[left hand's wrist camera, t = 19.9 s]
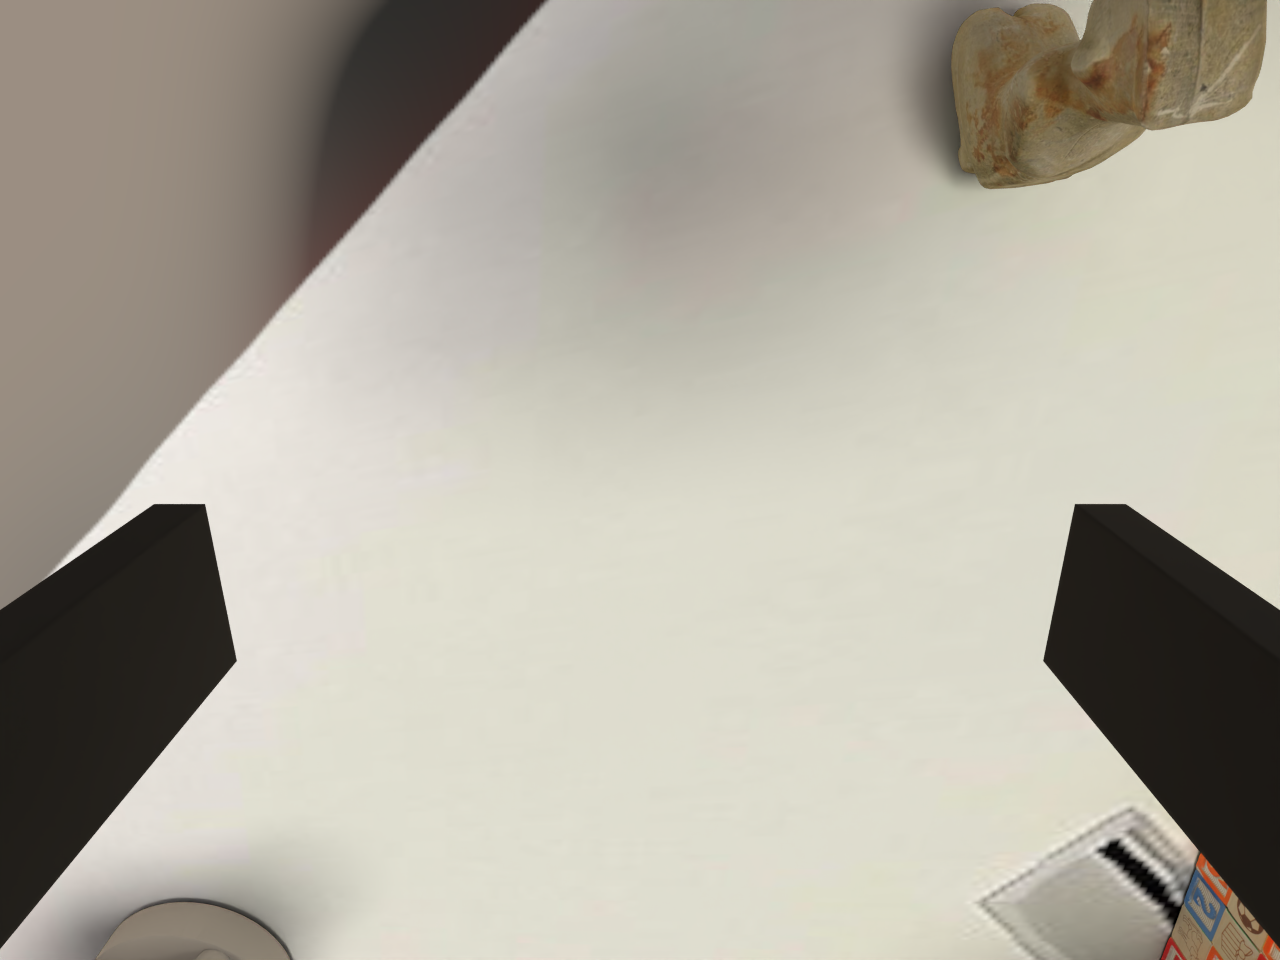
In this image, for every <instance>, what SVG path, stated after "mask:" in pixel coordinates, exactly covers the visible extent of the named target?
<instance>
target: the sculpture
mask: <svg viewBox="0 0 1280 960" xmlns="http://www.w3.org/2000/svg"><path fill="white" fill-rule="evenodd" d="M1266 16H1267V0H1094V1H1093V2H1092V4H1091V7H1090V10H1089V14H1088V19H1087V24H1086V30H1085V33H1084V35H1083V38H1082V40H1079V37H1078V34H1077V32H1076V29H1075V27H1074V24H1073V22H1072V20H1071V18H1070V16H1069V14H1068V13H1067V12H1066V11H1065V10H1063V9H1061V8H1059V7H1057V6H1055V5H1051V4H1030V5H1028V6H1025V7H1023V8H1021V9H1019V10H1017V11H1016V12H1015V14H1014V16H1010V15H1008V14H1006V13H1005V12H1004V11H1002V10H1001V9H1000V8H990V9H984V10H979V11H977V12H975V13H974V14H972V15H971V16H970V17H968V18H967V19H966V20H965V21H964V22H963V24H962V25H961V27H960V28H959V30H958V33H957V35H956V37H955V41H954V44H953V49H952V59H951V71H952V82H953V90H954V98H955V106H956V112H957V117H958V123H959V130H960V139H961V146H960V148H959V151H958V157H959V162H960V165H961V168H962V169H963V170H964V171H965V172H968V173H973V174H974V173H975V174H976V176H977V179H978V181H979V182H980V184H981V185H982V186H983V187H984V188H988V189H1000V188H1016V187H1024V186H1031V185H1038V184H1045V183H1050V182H1053V181H1055V180H1061V179H1066V178H1069V177H1070V176H1072V175H1073V174H1075V173H1078V172H1081V171H1084V170H1087V169H1089V168H1092V167H1094V166H1096V165H1097V164H1099V163H1101V162H1103V161H1104V160H1106V159H1107V158H1109V157H1111V156H1112V155H1114V154H1115V153H1117V152H1118V151H1120V150H1121V149H1123V148H1125V147H1126V146H1128V145H1129V144H1130V143H1132V142H1133V141H1134V140H1136V139H1137V138H1138V137H1139V136H1140V135H1141V134H1142V133H1143V132H1144V131H1145V130H1146V129H1149V130H1161V129H1166V128H1170V127H1175V126H1179V125H1184V124H1190V123H1197V122H1205V121H1214V120H1218V119H1221V118H1225V117H1228V116H1230V115H1232V114H1233V113H1235V112H1237V111H1239V110H1240V109H1242V108H1243V107H1245V106H1246V105H1247V104H1248V102H1249V101H1250V100H1251V99H1252V92H1253V89H1254V85H1255V82H1256V80H1257V78H1258V76H1259V73H1260V70H1261V65H1262V60H1263V55H1264V49H1265V43H1266Z"/></svg>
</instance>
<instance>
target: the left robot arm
mask: <svg viewBox="0 0 1280 960" xmlns="http://www.w3.org/2000/svg"><path fill="white" fill-rule="evenodd" d="M236 661H237V660H236V655H235V650H234V645H233V640H232V635H231V630H230V625H229V620H228V615H227V611H226V606H225V601H224V596H223V591H222V586H221V581H220V576H219V571H218V566H217V561H216V556H215V551H214V546H213V541H212V536H211V532H210V527H209V522H208V517H207V512H206V507H205V504H154V505H152V506H151V507H149V508H148V509H146V510H145V511H144V512H142V513H141V514H139V515H138V516H136V517H135V518H133V519H132V520H130V521H129V522H128V523H126V524H125V525H123V526H122V527H120V528H119V529H117V530H116V531H115V532H113V533H112V534H110V535H109V536H107V537H106V538H104V539H103V540H101V541H100V542H99V543H97V544H96V545H94V546H93V547H91V548H90V549H88V550H87V551H85V552H84V553H83V554H81V555H80V556H78V557H77V558H75V559H74V560H72V561H71V562H69V563H68V564H67V565H65V566H64V567H62V568H61V569H59V570H58V571H56V572H55V573H53V574H52V575H51V576H49V577H48V578H46V579H45V580H43V581H42V582H40V583H39V584H38V585H36V586H35V587H33V588H32V589H30V590H29V591H27V592H26V593H24V594H23V595H22V596H20V597H19V598H17V599H16V600H14V601H13V602H11V603H10V604H8V605H7V606H6V607H4V608H3V609H1V610H0V949H1V947H2V946H3V945H4V944H5V942H6V941H7V940H8V939H9V938H10V936H11V935H12V934H13V933H14V931H15V930H16V929H17V928H18V927H19V925H20V924H21V923H22V922H23V921H24V919H25V918H26V917H27V916H28V914H29V913H30V912H31V911H32V910H33V908H34V907H35V906H36V905H37V903H38V902H39V901H40V900H41V899H42V897H43V896H44V895H45V894H46V893H47V891H48V890H49V889H50V888H51V886H52V885H53V884H54V883H55V882H56V880H57V879H58V878H59V877H60V875H61V874H62V873H63V872H64V871H65V869H66V868H67V867H68V866H69V865H70V863H71V862H72V861H73V860H74V858H75V857H76V856H77V855H78V854H79V852H80V851H81V850H82V849H83V847H84V846H85V845H86V844H87V843H88V841H89V840H90V839H91V838H92V836H93V835H94V834H95V833H96V832H97V830H98V829H99V828H100V827H101V826H102V824H103V823H104V822H105V821H106V819H107V818H108V817H109V816H110V815H111V813H112V812H113V811H114V810H115V808H116V807H117V806H118V805H119V804H120V802H121V801H122V800H123V799H124V798H125V796H126V795H127V794H128V793H129V791H130V790H131V789H132V788H133V787H134V785H135V784H136V783H137V782H138V780H139V779H140V778H141V777H142V776H143V774H144V773H145V772H146V771H147V770H148V768H149V767H150V766H151V765H152V763H153V762H154V761H155V760H156V759H157V757H158V756H159V755H160V754H161V752H162V751H163V750H164V749H165V748H166V746H167V745H168V744H169V743H170V742H171V740H172V739H173V738H174V737H175V735H176V734H177V733H178V732H179V731H180V729H181V728H182V727H183V726H184V724H185V723H186V722H187V721H188V720H189V718H190V717H191V716H192V715H193V714H194V712H195V711H196V710H197V709H198V707H199V706H200V705H201V704H202V703H203V701H204V700H205V699H206V698H207V696H208V695H209V694H210V693H211V692H212V690H213V689H214V688H215V687H216V686H217V684H218V683H219V682H220V681H221V679H222V678H223V677H224V676H225V675H226V673H227V672H228V671H229V670H230V668H231V667H232V666H233V665H234V664H235V662H236ZM1043 661H1044V662H1045V664H1046V665H1047V666H1048V667H1049V668H1050V670H1051V671H1052V672H1053V673H1054V675H1055V676H1056V677H1057V678H1058V679H1059V681H1060V682H1061V683H1062V684H1063V686H1064V687H1065V688H1066V689H1067V690H1068V692H1069V693H1070V694H1071V695H1072V696H1073V698H1074V699H1075V700H1076V701H1077V703H1078V704H1079V705H1080V706H1081V707H1082V709H1083V710H1084V711H1085V712H1086V714H1087V715H1088V716H1089V717H1090V718H1091V720H1092V721H1093V722H1094V723H1095V724H1096V726H1097V727H1098V728H1099V729H1100V731H1101V732H1102V733H1103V734H1104V735H1105V737H1106V738H1107V739H1108V740H1109V742H1110V743H1111V744H1112V745H1113V746H1114V748H1115V749H1116V750H1117V751H1118V752H1119V754H1120V755H1121V756H1122V757H1123V759H1124V760H1125V761H1126V762H1127V763H1128V765H1129V766H1130V767H1131V768H1132V770H1133V771H1134V772H1135V773H1136V774H1137V776H1138V777H1139V778H1140V779H1141V780H1142V782H1143V783H1144V784H1145V785H1146V787H1147V788H1148V789H1149V790H1150V791H1151V793H1152V794H1153V795H1154V796H1155V798H1156V799H1157V800H1158V801H1159V802H1160V804H1161V805H1162V806H1163V807H1164V808H1165V810H1166V811H1167V812H1168V813H1169V815H1170V816H1171V817H1172V818H1173V819H1174V821H1175V822H1176V823H1177V824H1178V826H1179V827H1180V828H1181V829H1182V830H1183V832H1184V833H1185V834H1186V835H1187V836H1188V838H1189V839H1190V840H1191V841H1192V843H1193V844H1194V845H1195V846H1196V847H1197V849H1198V850H1199V851H1200V852H1201V854H1202V855H1203V856H1204V857H1205V858H1206V860H1207V861H1208V862H1209V863H1210V865H1211V866H1212V867H1213V868H1214V869H1215V871H1216V872H1217V873H1218V874H1219V875H1220V877H1221V878H1222V879H1223V880H1224V882H1225V883H1226V884H1227V885H1228V886H1229V888H1230V889H1231V890H1232V891H1233V893H1234V894H1235V895H1236V896H1237V897H1238V899H1239V900H1240V901H1241V902H1242V903H1243V905H1244V906H1245V907H1246V908H1247V910H1248V911H1249V912H1250V913H1251V914H1252V916H1253V917H1254V918H1255V919H1256V921H1257V922H1258V923H1259V924H1260V925H1261V927H1262V928H1263V929H1264V930H1265V931H1266V933H1267V934H1268V935H1269V936H1270V938H1271V939H1272V940H1273V941H1274V942H1275V944H1276V945H1277V946H1278V947H1279V949H1280V610H1279V609H1277V608H1276V607H1274V606H1273V605H1272V604H1270V603H1269V602H1267V601H1266V600H1264V599H1263V598H1261V597H1260V596H1259V595H1257V594H1256V593H1254V592H1253V591H1251V590H1250V589H1248V588H1247V587H1245V586H1244V585H1243V584H1241V583H1240V582H1238V581H1237V580H1235V579H1234V578H1232V577H1231V576H1229V575H1228V574H1227V573H1225V572H1224V571H1222V570H1221V569H1219V568H1218V567H1216V566H1215V565H1213V564H1212V563H1211V562H1209V561H1208V560H1206V559H1205V558H1203V557H1202V556H1200V555H1199V554H1197V553H1196V552H1195V551H1193V550H1192V549H1190V548H1189V547H1187V546H1186V545H1184V544H1183V543H1181V542H1180V541H1179V540H1177V539H1176V538H1174V537H1173V536H1171V535H1170V534H1168V533H1167V532H1165V531H1164V530H1163V529H1161V528H1160V527H1158V526H1157V525H1155V524H1154V523H1152V522H1151V521H1150V520H1148V519H1147V518H1145V517H1144V516H1142V515H1141V514H1139V513H1138V512H1136V511H1135V510H1134V509H1132V508H1131V507H1129V506H1128V505H1126V504H1075V507H1074V512H1073V517H1072V522H1071V527H1070V532H1069V536H1068V541H1067V546H1066V551H1065V556H1064V561H1063V566H1062V571H1061V576H1060V581H1059V586H1058V591H1057V596H1056V601H1055V606H1054V611H1053V615H1052V620H1051V625H1050V630H1049V635H1048V640H1047V645H1046V650H1045V655H1044V660H1043Z"/></svg>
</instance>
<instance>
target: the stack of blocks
mask: <svg viewBox="0 0 1280 960" xmlns="http://www.w3.org/2000/svg"><path fill="white" fill-rule="evenodd" d="M1196 868H1197V869H1196V870H1195V872H1194V875H1193V878H1192V880H1191V883H1190V886H1189V889H1188V891H1187V894H1186V897H1185V899H1184V904H1183V905H1182V908H1181V911H1180V914H1179V916H1178V919H1177V922H1176V924H1175V927H1174V929H1173V932H1172V936H1171V937H1170V938H1169V940H1168V943H1167V945H1166V948H1165V950H1164V953H1163V956H1162V958H1161V960H1280V949H1279V947H1278V946H1277V945H1276V944H1275V942H1274V941H1273V940H1272V939H1271V938H1270V936H1269V935H1268V934H1267V933H1266V931H1265V930H1264V929H1263V928H1262V927H1261V925H1260V924H1259V923H1258V922H1257V921H1256V919H1255V918H1254V917H1253V916H1252V914H1251V913H1250V912H1249V911H1248V910H1247V908H1246V907H1245V906H1244V905H1243V903H1242V902H1241V901H1240V900H1239V899H1238V897H1237V896H1236V895H1235V894H1234V893H1233V891H1232V890H1231V889H1230V888H1229V886H1228V885H1227V884H1226V883H1225V882H1224V880H1223V879H1222V878H1221V877H1220V875H1219V874H1218V873H1217V872H1216V871H1215V869H1214V868H1213V867H1212V866H1211V865H1210V863H1209V862H1208V861H1207V860H1206V858H1205V857H1204V856H1203V855H1202V854H1201V853H1200V856H1199V859H1198V862H1197V864H1196Z"/></svg>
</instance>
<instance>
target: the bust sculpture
mask: <svg viewBox="0 0 1280 960" xmlns="http://www.w3.org/2000/svg"><path fill="white" fill-rule="evenodd" d="M95 960H290V958H289V956H288V954H287V953H286V951H285V950H284V948H283V947H282V946H281V944H280V943H279V942H278V941H277V940H276V939H275V938H274V937H273V936H272V935H271V934H270V933H269V932H268V931H267V930H265V929H264V928H263V927H261V926H260V925H258V924H257V923H255V922H254V921H252V920H250V919H248V918H247V917H245V916H243V915H240V914H238V913H236V912H233V911H231V910H228V909H225V908H221V907H218V906H213V905H209V904H203V903H193V902H174V903H165V904H160V905H155V906H152V907H149V908H146V909H143V910H141V911H139V912H137V913H135V914H133V915H131V916H130V917H128V918H127V919H126V920H125V921H123V922H122V923H121V924H120V925H119V926H118V927H117V929H116V930H115V931H114V933H113V934H112V936H111V937H110V939H109V940H108V941H107V943H106V944H105V946H104V947H103V949H102V950H101V952H100V953H99V954H98V956H97V957H96V959H95Z"/></svg>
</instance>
